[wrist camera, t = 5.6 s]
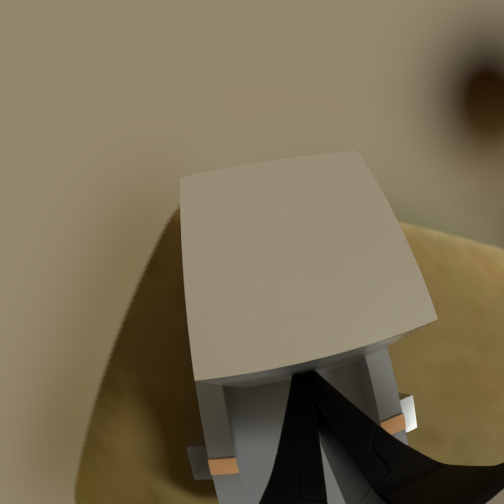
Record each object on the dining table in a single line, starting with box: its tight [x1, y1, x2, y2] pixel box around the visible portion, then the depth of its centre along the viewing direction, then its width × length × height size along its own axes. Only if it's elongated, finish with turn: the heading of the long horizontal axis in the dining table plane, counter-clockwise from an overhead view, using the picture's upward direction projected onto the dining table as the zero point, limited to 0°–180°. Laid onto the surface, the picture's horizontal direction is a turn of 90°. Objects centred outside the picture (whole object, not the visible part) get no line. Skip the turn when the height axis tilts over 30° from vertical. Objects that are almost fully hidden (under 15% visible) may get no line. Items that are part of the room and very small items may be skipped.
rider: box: [180, 151, 438, 388], centre depth 10 cm, size 5×5×9 cm
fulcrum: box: [186, 393, 417, 480], centre depth 12 cm, size 3×12×4 cm, turn 100°
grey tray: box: [195, 347, 408, 504], centre depth 11 cm, size 16×9×3 cm, turn 10°
